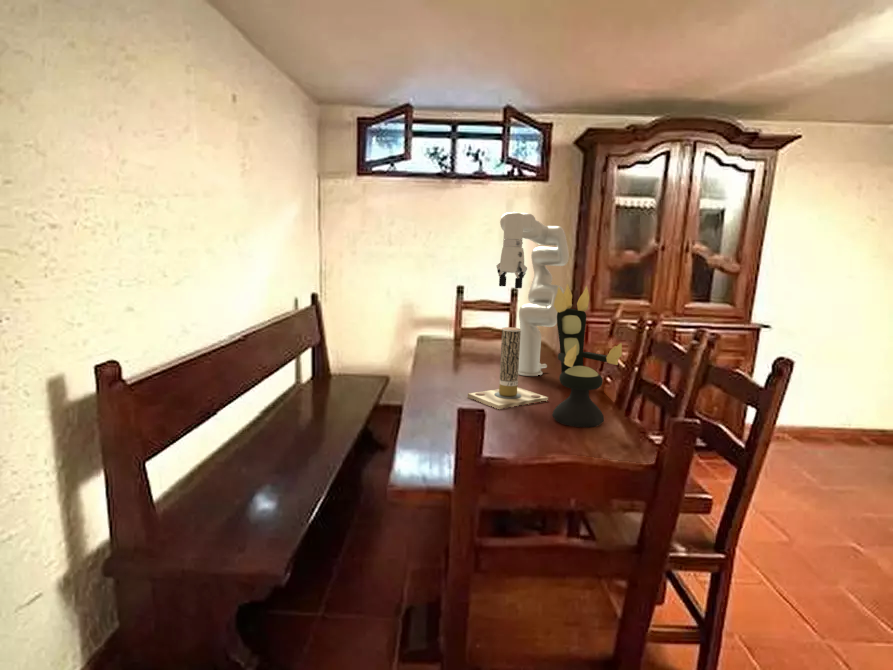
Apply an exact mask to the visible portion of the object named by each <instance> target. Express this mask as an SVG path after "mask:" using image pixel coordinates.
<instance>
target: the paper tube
mask: <svg viewBox="0 0 893 670" xmlns="http://www.w3.org/2000/svg"><path fill="white" fill-rule="evenodd" d="M520 336H521V329H520V327H510V326H509V327H507V326H506V327H502V331H501V345H500V348H501V350H500V364H499V385H498V389H499V394H500V395H502V396H507V397H512V396H516V395H517V387H518V385H519V374H518V370H519V353H520Z"/></svg>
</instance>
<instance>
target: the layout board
mask: <svg viewBox="0 0 893 670" xmlns="http://www.w3.org/2000/svg"><path fill="white" fill-rule="evenodd" d="M467 398H468V399H470V400H473V399H474V400H473V401H475V400H476V402H478V401H479V402H478V403H480V402H481V404H483V405H486V406H488V407H491V406H492V407H491V408H493V407H494V408H493V409H496V408H497V409H496V410H498V409H499V410H504V409H503V408H505V409H509V408H508V407H511V408H515V407H514V406H517V407H520V406H519V405H522V406H525V405H524V404H528V405H530V404H529V403H534V402H540V403H542V402H541V401H546V402H548V401H549V396H545V395H542V394H539V393H536V392H533V391H530V390H527V389H525V388H523V387H522V388H521V387H518V386H517V395H516V396H512V397H507V396H502V395H500V394H499V388H497V389H491V390H484V391H483V390H482V391H477V392H470V393H467ZM547 400H548V401H547ZM534 404H535V403H534Z"/></svg>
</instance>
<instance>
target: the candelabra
mask: <svg viewBox="0 0 893 670" xmlns="http://www.w3.org/2000/svg"><path fill="white" fill-rule="evenodd" d="M559 286H560V285H559ZM559 286H558V291H557V294H556V298H555V302H554V307H555V309H556V311H557V312H558V313H557V324H556V326H557V332H558V333H557V334H558V340H559V348H560V349H559V350H560V352H559V353H558V355H557V359H558V360H559V361H560V364H561V365H560V369H561V370H560V371H561V373H560V374H559V378H558V379H559V383H560V384H561V385H562V386H564V387H565V388H567V389H570V393H569V396H568V397H567V398H566V399H564V400H563V401H562V402H560V403H559V404H558V405H556V406H555V408H554V409H553V412H552V418H553V419H554V420H555V421H556V422H558V423H560V424H561V425H565V426H570V427H574V428H575V427H576V428H594V427H599V426H600V425H602V424H603V423H604V422H605V417H604V414H603V412H602V411H601V409H600V408H599V407H598V406H597V404H596V403H594V402H593V400H592V398H590V391H594V390H597V389H599V388H600V387H601V386H602V385H603V381H604V379H603V377H602V376H601V375H600V374H599V372H597V371H596V370H595V369H593V368H592V367H589V366H586V365H584V359H589V360H593V361H599V362H601V363H603V362H604V363H608V364H610V365H616V366H618V365H619V360H620V358H621V357H623V356H622V355H623V343H622V342H620V343H619V344H617V345H615V346H613V347H612V348H611V349H610V350H609V352H608V354H607V355H606V354H600V353H595V352H590V351H584V346H585V335H586V334H585V333H586V327H587V325H586V323H587V313H586V311H587V310H588V309H589V302H590V294H589V288H588V285H586V286H585V287H584V290H583V292H582V293H581V294H580V296H579V298H578V300H577V302H576V305H577V309H576V308H572V306H573V304H572V302H573V300H572V299H573V294H572V291H571V289H570V286H569V284H568V283H567V284H566V287H565V290H564V294H563V293H562V291H561V289H560V288H559Z"/></svg>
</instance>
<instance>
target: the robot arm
mask: <svg viewBox="0 0 893 670" xmlns="http://www.w3.org/2000/svg"><path fill="white" fill-rule="evenodd" d="M499 223H500V227H501V229H502V231H503V241H502V242H503V243H502V247H501V248H502V249H501V255H500V262H499V263H497V265H496V271H497V274H498V277H499V280H498V282H499V283H498V286H499V287H506V286H507V276H506V275H507V274H508V273H511V274H514V275H515V279H514V281H515V283H514V288H515V289H522V288H523V279H524V278H525V275H526V274H527V270H528V267H527V266H526V265H525V252H524V251H525V250H524V248H523V244H524V242H523V239H526V240H529V241H531V242H533V243H535V244H537V245H539V246H537V247H534V248H533V249H532V251H531V264H532V269H533V277H532V281H531V285H530V289H529V291H528V297H527V299H528V302H529V303H524V304H522V305H521V306H520V308H519V311H518V318H519V329H521V336H520V353H519V370H518V376H524V377H525V376H526V377H538V375H540V376H542V375H543V371H542V369H546V368H547V367H548V365H547V364H546V363H541V361H540V360H541V346H542V334H541V330H540V329H539V327H546V328H547V327H548V328H553V327H555V326H557V313H558V312H557V311H556V309H555V307H554V302H555V298H556V294H557V291H558V286H559V288H560V289H561V291H562V293H563V294H564V292H565V290H564V288H563V286H561V285H560V284H559V285H557V284H552V283H553V274H552V273H551V272H550V269H548V268H547V266H552V267H553V266H554V267H564V266H566V265H567V264H568V263H569V259H570V253H569V246H568V241H567V236H566V233H565V232H566V231H565V230H564V228H563V227H562V226H560V225H545V224H544V223H541V222H540V221H538V220H536V217H535V215H533V214H532V213H530V212H529V213H528V212H527V213H526V212H518V211H517V212H515V211H513V212H505V213H503V214H502V216H501V217H500V220H499Z"/></svg>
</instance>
